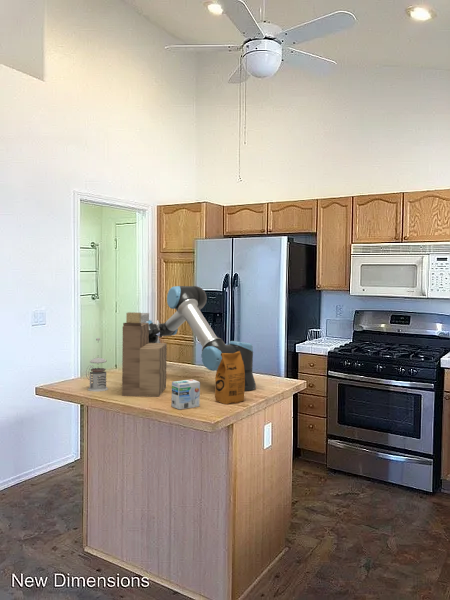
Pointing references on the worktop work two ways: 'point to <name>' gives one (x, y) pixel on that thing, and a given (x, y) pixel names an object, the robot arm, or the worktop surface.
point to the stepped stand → (142, 362)
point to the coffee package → (230, 379)
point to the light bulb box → (185, 394)
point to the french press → (97, 375)
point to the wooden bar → (137, 317)
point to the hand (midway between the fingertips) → (144, 322)
